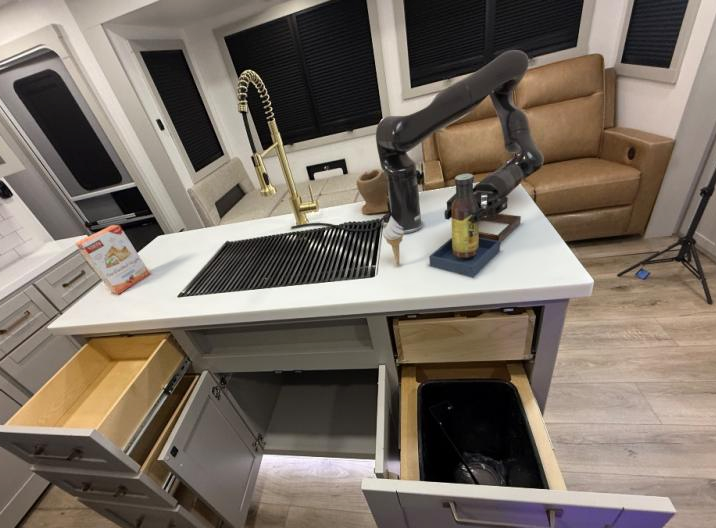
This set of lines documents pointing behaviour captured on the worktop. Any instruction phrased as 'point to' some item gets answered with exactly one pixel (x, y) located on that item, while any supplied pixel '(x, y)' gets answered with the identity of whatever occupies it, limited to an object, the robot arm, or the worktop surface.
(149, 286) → the worktop surface
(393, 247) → the ice cream cone
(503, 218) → the walnut frame
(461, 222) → the sauce bottle
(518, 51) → the robot arm
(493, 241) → the slate tray
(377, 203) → the stone cup
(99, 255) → the cracker box
